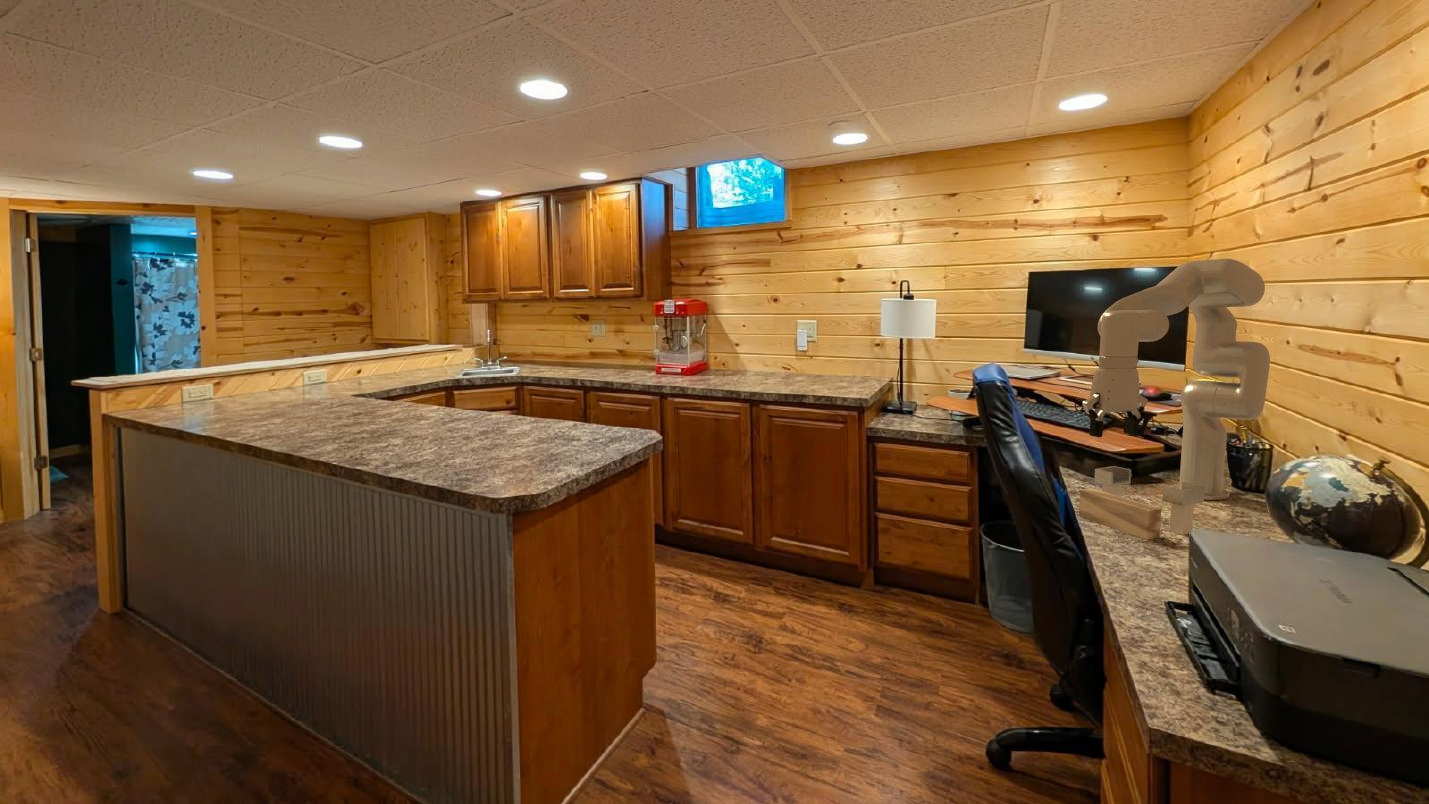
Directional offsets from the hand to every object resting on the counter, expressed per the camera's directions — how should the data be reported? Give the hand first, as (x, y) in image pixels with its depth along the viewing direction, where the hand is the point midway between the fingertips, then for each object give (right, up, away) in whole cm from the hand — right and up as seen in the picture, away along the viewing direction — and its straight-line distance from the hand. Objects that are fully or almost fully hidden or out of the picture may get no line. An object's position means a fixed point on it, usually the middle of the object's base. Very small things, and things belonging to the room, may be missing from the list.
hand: (1113, 435), depth 147 cm
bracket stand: (+11, -21, +5) cm, 24 cm away
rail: (+2, -22, +2) cm, 23 cm away
